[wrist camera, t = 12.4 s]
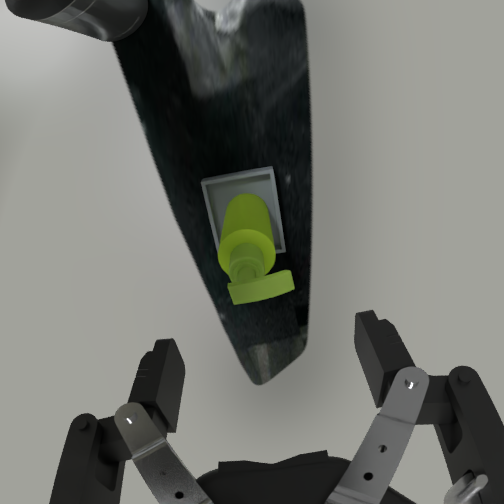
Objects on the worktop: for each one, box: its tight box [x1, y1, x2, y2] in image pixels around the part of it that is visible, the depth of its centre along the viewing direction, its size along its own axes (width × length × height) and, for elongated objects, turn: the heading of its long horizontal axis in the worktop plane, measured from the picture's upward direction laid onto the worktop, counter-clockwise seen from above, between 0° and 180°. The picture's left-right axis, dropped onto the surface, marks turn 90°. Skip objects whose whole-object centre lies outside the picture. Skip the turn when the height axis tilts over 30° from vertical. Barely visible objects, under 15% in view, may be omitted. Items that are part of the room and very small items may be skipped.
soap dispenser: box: [218, 193, 295, 305], centre depth 36 cm, size 6×7×20 cm
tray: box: [201, 166, 286, 253], centre depth 44 cm, size 12×10×2 cm
